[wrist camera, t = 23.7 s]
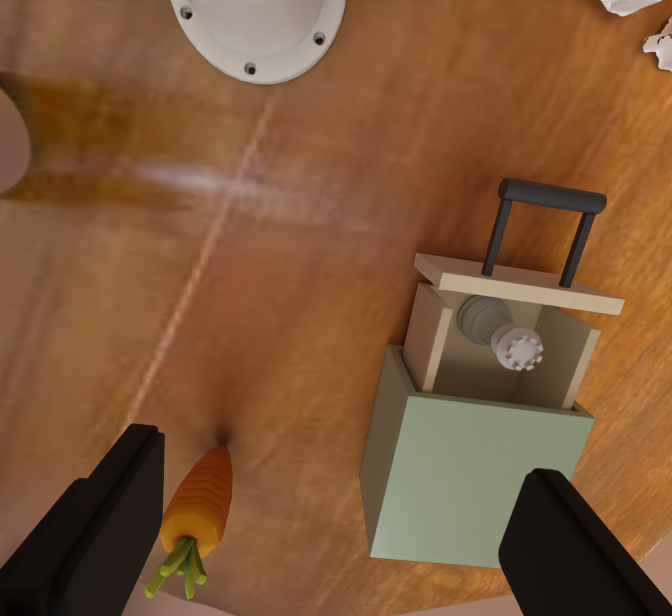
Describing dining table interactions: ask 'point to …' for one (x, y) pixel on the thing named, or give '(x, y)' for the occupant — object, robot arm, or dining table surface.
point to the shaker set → (667, 50)
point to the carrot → (195, 520)
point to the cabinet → (454, 468)
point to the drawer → (526, 308)
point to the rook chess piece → (499, 332)
